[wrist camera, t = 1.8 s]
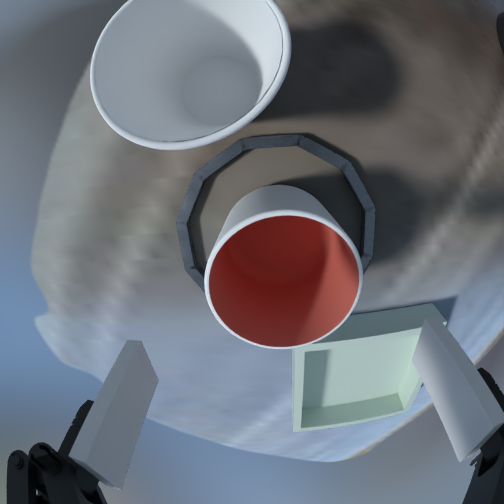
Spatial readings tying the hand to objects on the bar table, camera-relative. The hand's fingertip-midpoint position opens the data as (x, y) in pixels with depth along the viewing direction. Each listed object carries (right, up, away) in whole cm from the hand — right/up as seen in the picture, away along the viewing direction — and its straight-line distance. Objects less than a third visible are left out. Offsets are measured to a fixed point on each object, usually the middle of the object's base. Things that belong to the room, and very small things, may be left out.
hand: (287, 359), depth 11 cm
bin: (+13, -10, +21) cm, 27 cm away
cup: (+1, +6, +15) cm, 16 cm away
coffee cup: (-4, +19, +10) cm, 22 cm away
